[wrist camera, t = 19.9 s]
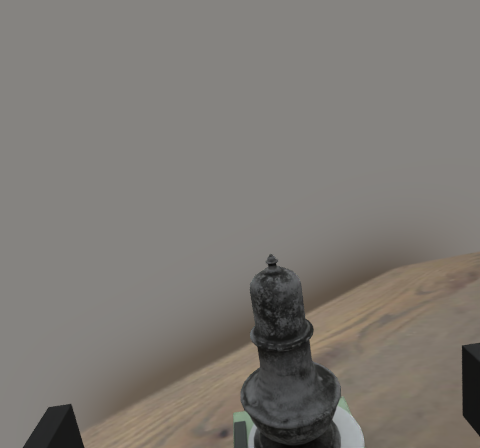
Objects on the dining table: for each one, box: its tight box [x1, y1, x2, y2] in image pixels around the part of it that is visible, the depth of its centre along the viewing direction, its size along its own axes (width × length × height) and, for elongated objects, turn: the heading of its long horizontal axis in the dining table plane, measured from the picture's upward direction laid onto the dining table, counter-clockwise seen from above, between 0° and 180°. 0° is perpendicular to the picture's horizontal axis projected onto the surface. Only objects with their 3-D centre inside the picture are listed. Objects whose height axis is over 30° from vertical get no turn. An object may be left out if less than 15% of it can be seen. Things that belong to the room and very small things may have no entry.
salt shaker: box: [241, 254, 341, 448], centre depth 22 cm, size 6×6×12 cm
